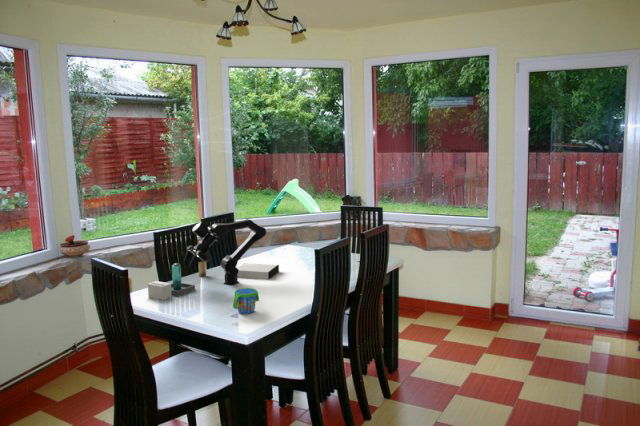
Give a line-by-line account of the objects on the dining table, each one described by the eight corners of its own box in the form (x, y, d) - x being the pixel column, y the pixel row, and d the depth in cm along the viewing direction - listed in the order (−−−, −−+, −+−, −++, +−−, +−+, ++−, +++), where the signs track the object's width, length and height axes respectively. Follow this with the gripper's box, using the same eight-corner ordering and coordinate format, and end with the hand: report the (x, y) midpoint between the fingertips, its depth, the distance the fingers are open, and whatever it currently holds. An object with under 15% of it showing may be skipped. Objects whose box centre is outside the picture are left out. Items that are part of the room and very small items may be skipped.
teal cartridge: (181, 287, 275) (180, 262, 273) (181, 290, 271) (180, 264, 269) (173, 288, 274) (172, 263, 272) (172, 290, 270) (171, 265, 268)
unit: (171, 296, 264) (171, 283, 263) (163, 299, 258) (162, 286, 257) (157, 293, 268) (156, 280, 267) (148, 297, 263) (147, 283, 262)
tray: (195, 289, 276) (194, 285, 275) (177, 296, 264) (177, 291, 264) (176, 286, 282) (176, 281, 281) (159, 292, 270) (159, 287, 270)
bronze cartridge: (207, 275, 305) (207, 252, 303) (203, 277, 301) (202, 254, 299) (201, 274, 307) (201, 251, 305) (197, 276, 303) (196, 253, 301)
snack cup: (251, 305, 250) (250, 285, 248) (266, 310, 243) (266, 289, 241) (226, 313, 238) (225, 292, 236) (241, 318, 231) (240, 297, 230)
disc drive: (269, 280, 297) (269, 271, 296) (233, 277, 302) (233, 269, 301) (279, 272, 314) (279, 264, 313) (244, 270, 319) (244, 262, 318)
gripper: (222, 255, 274) (203, 278, 270) (210, 248, 289) (192, 270, 285) (207, 242, 268) (187, 265, 264) (196, 236, 284) (177, 258, 280)
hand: (186, 265), depth 274 cm, fingers open, 9 cm apart
